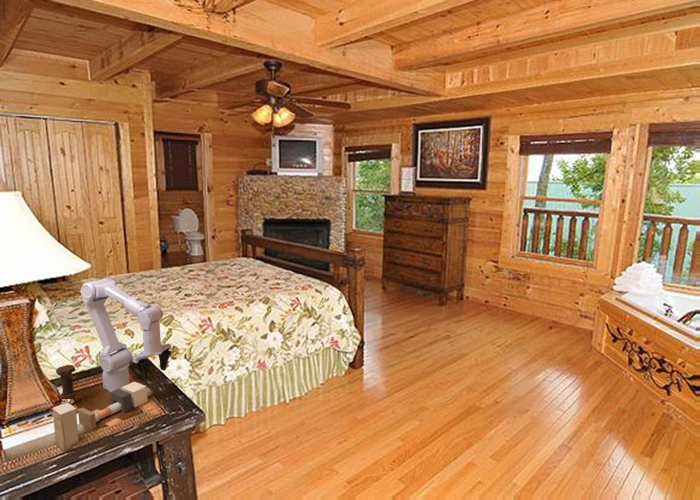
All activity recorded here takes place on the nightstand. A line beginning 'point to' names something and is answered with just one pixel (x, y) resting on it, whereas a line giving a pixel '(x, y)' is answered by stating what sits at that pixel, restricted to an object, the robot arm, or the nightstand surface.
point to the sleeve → (136, 393)
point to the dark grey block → (122, 399)
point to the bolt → (67, 381)
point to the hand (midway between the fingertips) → (154, 373)
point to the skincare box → (65, 425)
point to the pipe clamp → (100, 414)
